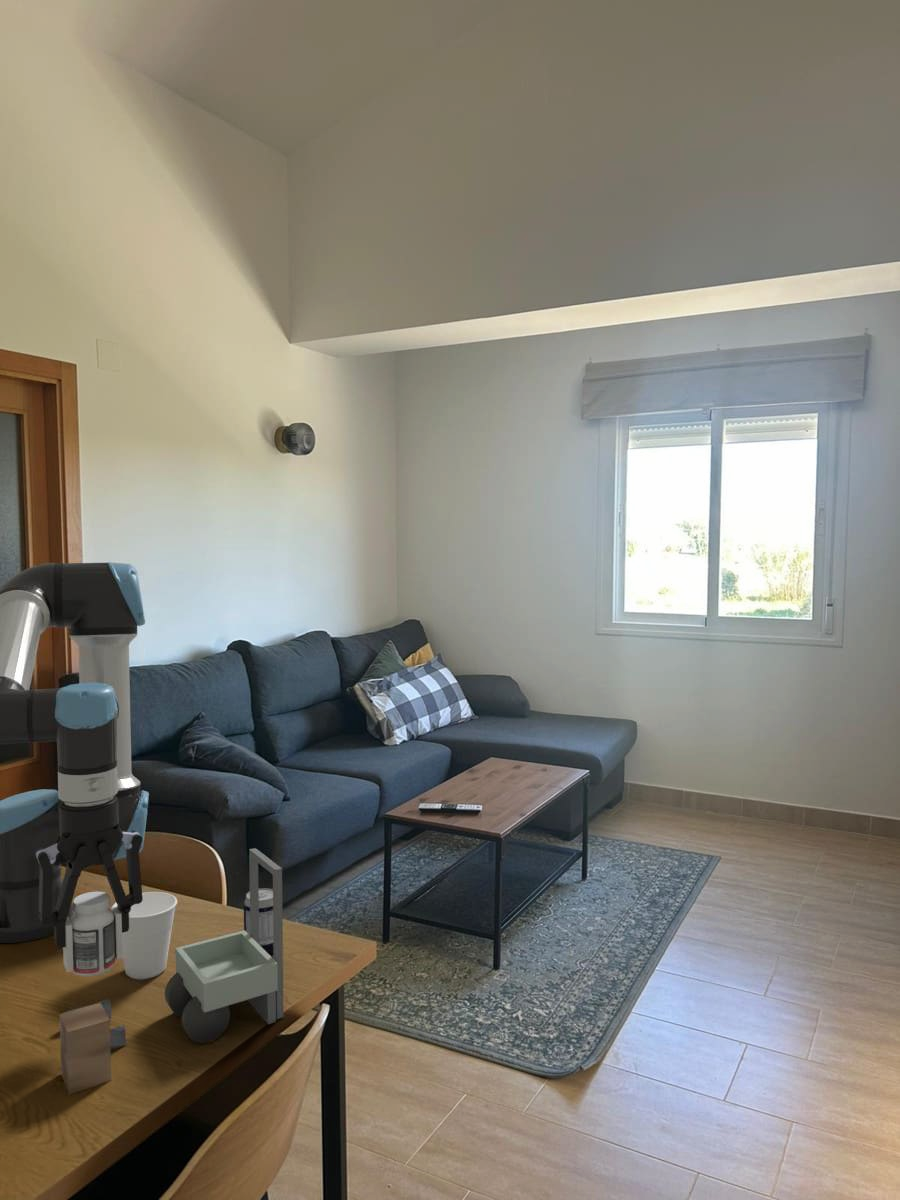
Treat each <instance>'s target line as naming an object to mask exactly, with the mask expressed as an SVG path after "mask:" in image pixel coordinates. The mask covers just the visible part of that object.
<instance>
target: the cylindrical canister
mask: <svg viewBox="0 0 900 1200" xmlns="http://www.w3.org/2000/svg"><path fill="white" fill-rule="evenodd" d="M258 891H259V945H260V946H261V947H262V948H263V949H264V950H265V951H266V952H267V953H268V954H269V955H270V956H271V957H272V958H273V959H274V945H273V888H264V887H263V888H258ZM245 897H246V898H245V900H244V902H243V931H244V930H245V931H246V932H247V933H248V934H249V935H250V891H248V892H247V893H246V894H245Z"/></svg>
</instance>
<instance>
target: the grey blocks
mask: <svg viewBox="0 0 900 1200" xmlns="http://www.w3.org/2000/svg"><path fill="white" fill-rule="evenodd" d="M98 1003H101V1005H102V1006H103V1008H104V1010H105V1012H106V1014H107V1016H108V1018H109V1020H110V1019H112V1002H111V999H109V998H108V999H104V1000H102V1001H101V1000H100V1001H97V1002H93V1003H90V1004H87V1005H83V1006H79V1007H76V1008H73V1009H69V1010H65V1011H64V1013H66V1012H69V1011H73V1010H76V1009H80V1008H83V1007H87V1006H91V1005H94V1004H98ZM126 1035H127V1034H126V1027H125V1025H119V1026H115V1027H113V1028H110V1051H112V1050H115V1049H116V1050H117V1049H119V1048H122V1047H126V1045H127V1044H126V1042H127V1041H126Z"/></svg>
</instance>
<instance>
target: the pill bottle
mask: <svg viewBox="0 0 900 1200" xmlns="http://www.w3.org/2000/svg"><path fill="white" fill-rule="evenodd" d="M110 904H111V900H110V895H109V894H108V893H107V892H105V891H90V892H85V893H82V894H80V895H77V896H75V898H74V899H72V905H73V916H72V917H71V920H70V922H71V924H72V939H73V971H72V973H73V974H74V975H76V976H78V977H94V976H99V975H102V974H104V973H106V972H108V971H110V970H111V969H112V968H113V967H114V965H115V964H116V957H115V930H114V914H113V912H112V911H111V908H109V907H110Z"/></svg>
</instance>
